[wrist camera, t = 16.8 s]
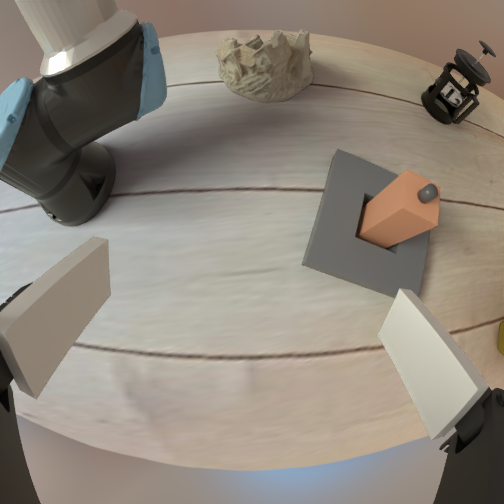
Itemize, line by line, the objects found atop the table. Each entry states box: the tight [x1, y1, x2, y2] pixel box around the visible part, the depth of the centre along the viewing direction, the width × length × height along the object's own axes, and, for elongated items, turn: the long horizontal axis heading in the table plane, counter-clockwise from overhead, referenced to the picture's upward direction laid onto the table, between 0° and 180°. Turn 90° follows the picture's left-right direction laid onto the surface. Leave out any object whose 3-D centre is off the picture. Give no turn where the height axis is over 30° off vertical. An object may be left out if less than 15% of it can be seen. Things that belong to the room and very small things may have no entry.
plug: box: [355, 169, 440, 249], centre depth 31 cm, size 5×5×16 cm
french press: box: [421, 41, 496, 124], centre depth 33 cm, size 12×9×23 cm
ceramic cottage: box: [215, 30, 314, 103], centre depth 37 cm, size 16×16×15 cm
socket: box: [302, 149, 430, 298], centre depth 37 cm, size 18×18×3 cm
